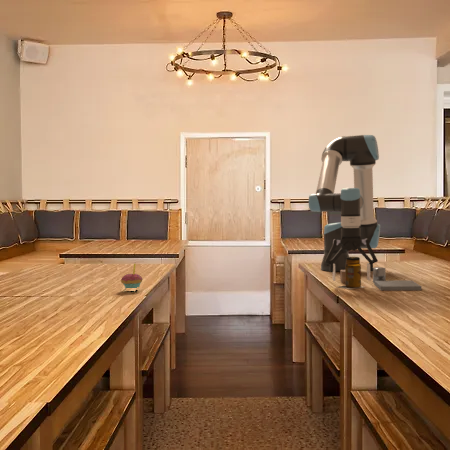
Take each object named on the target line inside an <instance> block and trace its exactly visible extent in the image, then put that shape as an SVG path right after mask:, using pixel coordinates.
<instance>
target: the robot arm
mask: <svg viewBox="0 0 450 450" xmlns="http://www.w3.org/2000/svg"><path fill="white" fill-rule="evenodd" d="M379 154H380V153H379V146H378V141H377V138H376V136H375V135H373V134H360V135H348V136H346V135H345V136H344V135H343V136H339V137H337V138H334V139H333V140H332V141H330V142H329V143H328V144H327V145H326V147H324V149H323V151H322V154H321V163H322V165H321V169H320V173H319V176H318V177H319V178H318V181H317V186H316V191H315V193H311V194H309V197H308V209H309V210H310V212H316V213H317V212H318V213H321V212H323V213H325V212H327V213H328V212H341V213H340V222H332V223H328V224H326V225H324V227H323V243H324V244H323V245H324V246H323V250H324V251H323V252H324V253H323V257H322V259H321V263H320V270H321V271H324V272H330V273H332V281H333V282H336V272H340V270H345V264H346V258H347V257H350V254H349V251H354V252H355V251H358V252H359V253H360V254H361V255H362V256H363V258H364V259H365V260H366V261H367V262H368V263H366V280H367V281H368V282H370V281H371V273H373V268H374V266H373V265H374V264H375V263H378V261H379V260H378V259H377V256H376V254H375V252H374V251H373V249H376V248H378V246H379V240H380V237H381V236H380V234H381V224H379V223H378V220H377V219H376V218H375V217H374V216H375V215H374V213H375V212H374V185H373V183H374V182H373V181H374V179H373V177H374V176H373V168H374V166H375V165H376V164H377V163H376V161H378V160H379V159H380V155H379ZM343 162H349V165H350V167H351V168H353V169H352V170H353V187H351V188H350V187H345V188H344V187H343V188H341V190H340V193H335V190H336V184H337V178H338V173H339V168H340V166H341V164H342V163H343ZM363 249H367V250H368V252H369V254H370V256H371V258H370V256H368V254H367V253H366V252H365V251H364V250H363Z"/></svg>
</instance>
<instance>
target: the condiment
mask: <svg viewBox="0 0 450 450" xmlns="http://www.w3.org/2000/svg"><path fill="white" fill-rule="evenodd" d="M345 282H346V283H344V284H345V285H338V286H337V288H341V289H347V290H354V289H356V290H357V289H363V288H365V286H363V285H362V264H361V258H360V256H349V257H347V258H346V264H345Z"/></svg>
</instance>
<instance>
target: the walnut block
mask: <svg viewBox="0 0 450 450" xmlns="http://www.w3.org/2000/svg"><path fill="white" fill-rule="evenodd" d="M339 272H340V275H339V276H340V279H339V280H340V283H341V284H345V283H346V282H345V270H340V271H339Z"/></svg>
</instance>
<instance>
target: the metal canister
mask: <svg viewBox="0 0 450 450" xmlns="http://www.w3.org/2000/svg"><path fill="white" fill-rule="evenodd" d="M374 281H387V280H386V267H381V266H379V267H378V266H377V267H376V266H375V267H373V272H372V283H373V284H374Z"/></svg>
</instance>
